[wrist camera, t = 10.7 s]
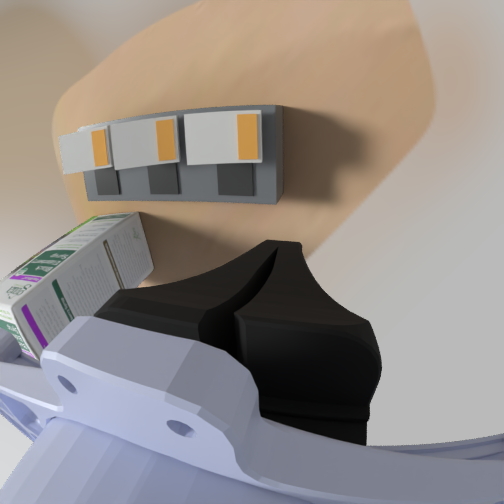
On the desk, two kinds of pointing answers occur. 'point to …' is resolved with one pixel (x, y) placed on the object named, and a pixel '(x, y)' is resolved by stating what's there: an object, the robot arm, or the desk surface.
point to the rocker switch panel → (197, 169)
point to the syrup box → (73, 278)
